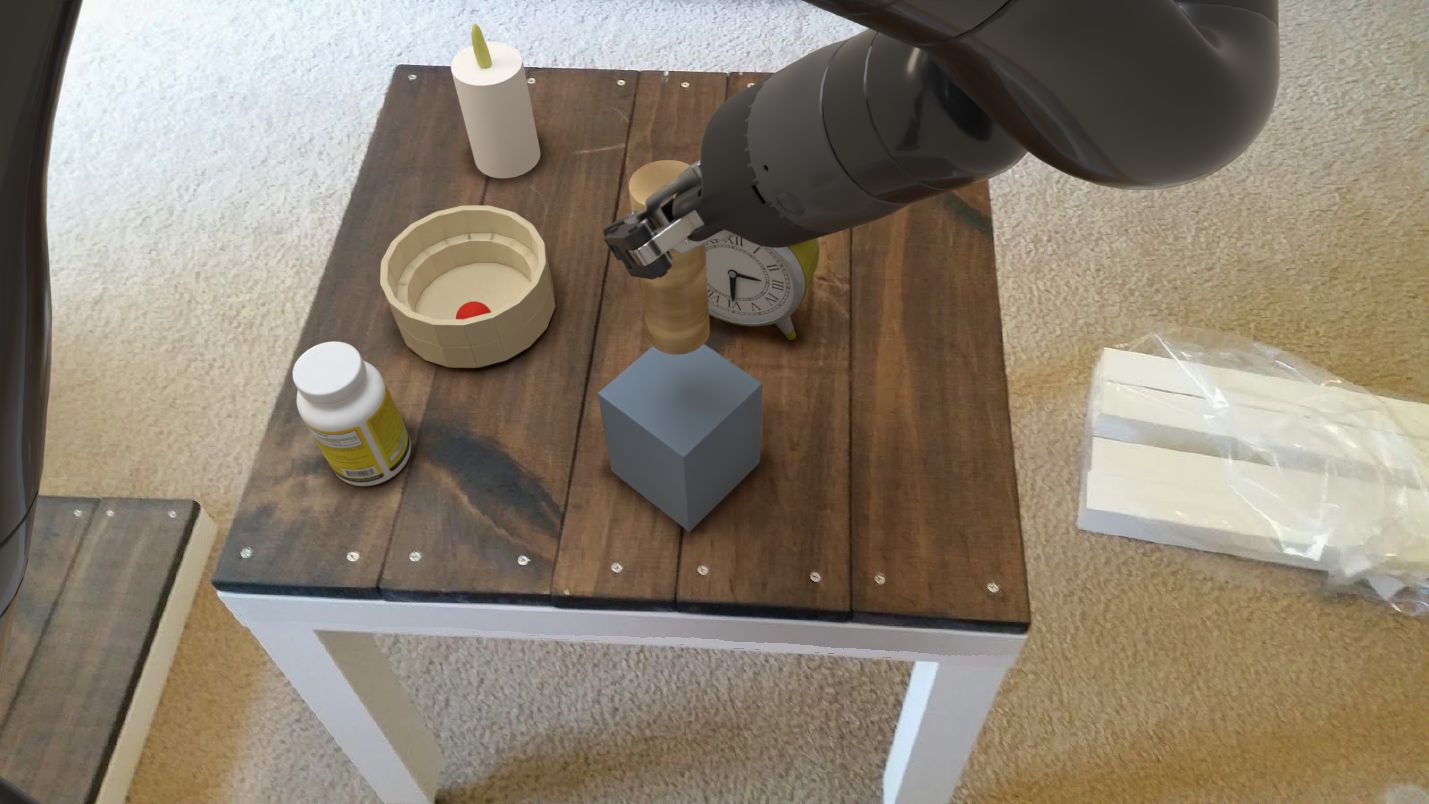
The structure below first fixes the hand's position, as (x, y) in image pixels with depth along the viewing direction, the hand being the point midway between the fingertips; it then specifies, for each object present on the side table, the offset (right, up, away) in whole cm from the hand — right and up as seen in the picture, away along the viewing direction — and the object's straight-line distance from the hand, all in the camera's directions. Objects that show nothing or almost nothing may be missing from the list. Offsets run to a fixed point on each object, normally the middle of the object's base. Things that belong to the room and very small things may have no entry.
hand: (644, 221), depth 61 cm
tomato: (-16, -4, +25) cm, 30 cm away
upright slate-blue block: (+2, -15, +19) cm, 25 cm away
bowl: (-16, -3, +29) cm, 33 cm away
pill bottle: (-22, -15, +20) cm, 33 cm away
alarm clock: (+7, -3, +28) cm, 29 cm away
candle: (-16, +13, +40) cm, 45 cm away
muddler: (+2, -6, +6) cm, 8 cm away
